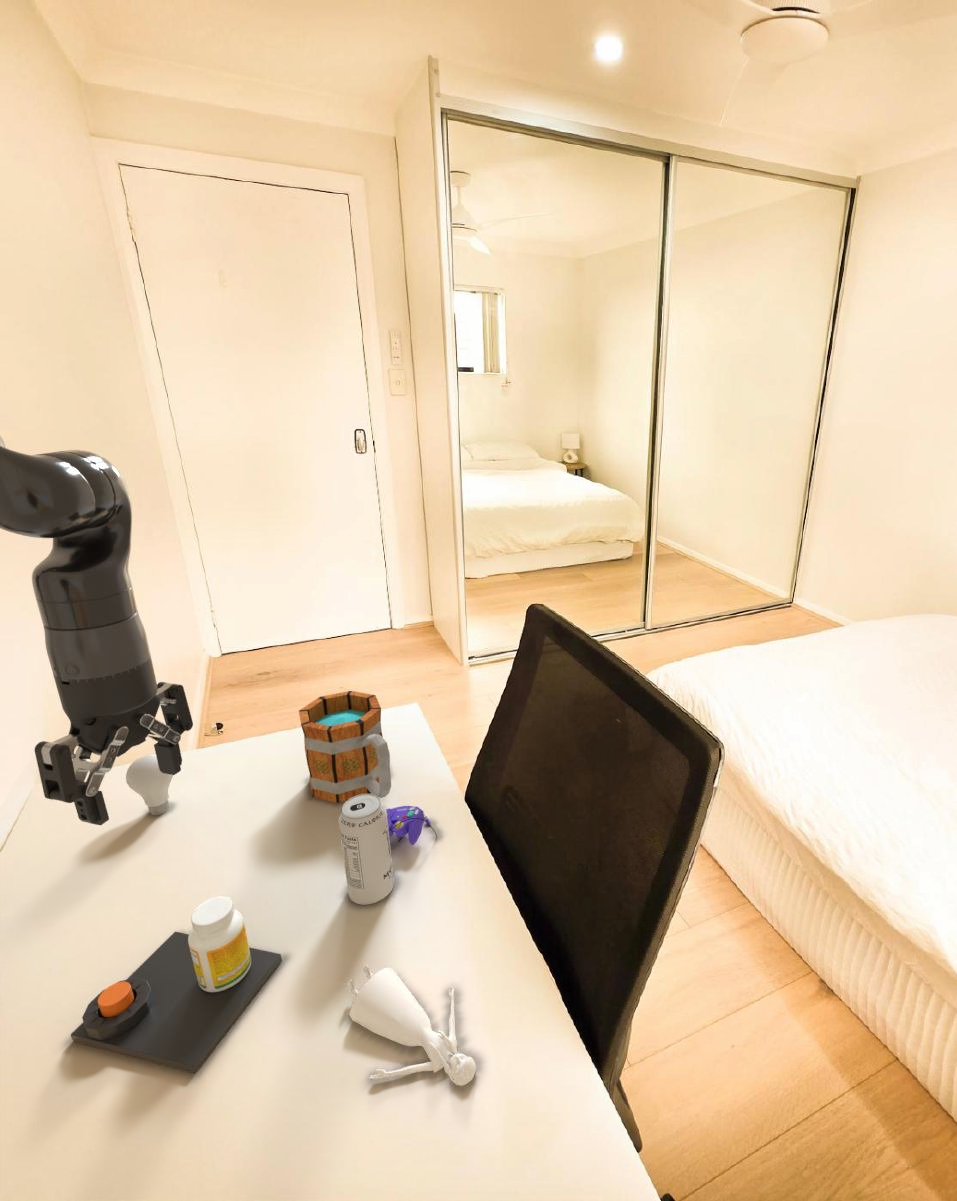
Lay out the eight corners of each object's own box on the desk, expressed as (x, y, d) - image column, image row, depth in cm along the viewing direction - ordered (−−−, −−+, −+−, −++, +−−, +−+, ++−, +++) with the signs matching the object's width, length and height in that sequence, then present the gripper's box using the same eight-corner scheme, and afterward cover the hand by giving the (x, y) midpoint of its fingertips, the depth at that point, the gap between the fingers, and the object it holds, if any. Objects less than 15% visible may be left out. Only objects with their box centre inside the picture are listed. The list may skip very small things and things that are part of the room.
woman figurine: (397, 929, 73) (510, 1015, 64) (398, 954, 74) (508, 1042, 66) (310, 1007, 63) (429, 1120, 55) (313, 1034, 65) (430, 1148, 57)
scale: (74, 1047, 63) (65, 1024, 62) (178, 942, 75) (172, 921, 74) (196, 1078, 60) (189, 1055, 59) (283, 965, 73) (279, 944, 71)
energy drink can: (398, 899, 82) (389, 811, 77) (353, 916, 79) (340, 826, 74) (389, 870, 87) (380, 785, 82) (346, 885, 84) (333, 799, 79)
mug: (293, 785, 105) (281, 711, 100) (362, 752, 115) (354, 683, 110) (354, 835, 94) (343, 755, 89) (424, 794, 104) (419, 719, 99)
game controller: (346, 843, 87) (378, 790, 95) (372, 878, 91) (401, 824, 99) (402, 839, 84) (431, 785, 93) (427, 875, 88) (452, 820, 96)
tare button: (94, 1014, 63) (90, 1003, 62) (119, 990, 66) (115, 979, 65) (116, 1020, 63) (112, 1008, 62) (140, 995, 65) (137, 984, 65)
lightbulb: (174, 797, 101) (160, 742, 97) (189, 812, 97) (176, 755, 94) (131, 816, 96) (115, 759, 92) (146, 832, 93) (130, 773, 89)
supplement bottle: (188, 993, 67) (170, 929, 64) (217, 951, 72) (202, 890, 69) (235, 995, 67) (220, 931, 64) (261, 952, 72) (249, 891, 69)
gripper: (137, 629, 65) (164, 753, 71) (-12, 686, 52) (36, 834, 58) (195, 637, 64) (219, 763, 70) (58, 698, 51) (100, 848, 56)
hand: (136, 795), depth 64 cm, fingers open, 8 cm apart
